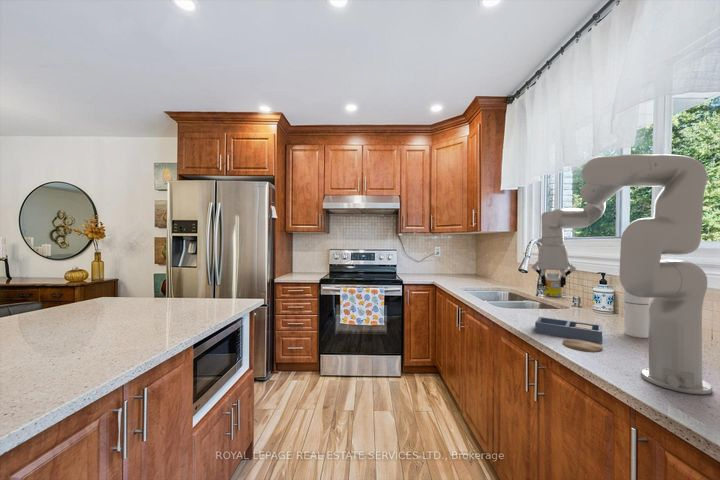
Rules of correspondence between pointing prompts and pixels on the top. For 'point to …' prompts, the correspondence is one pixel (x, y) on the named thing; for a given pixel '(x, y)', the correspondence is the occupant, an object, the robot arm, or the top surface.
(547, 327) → the parts caddy
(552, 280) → the supplement bottle
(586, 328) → the birch block
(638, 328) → the cylindrical container
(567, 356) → the top surface
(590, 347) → the cork trivet
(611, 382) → the top surface
